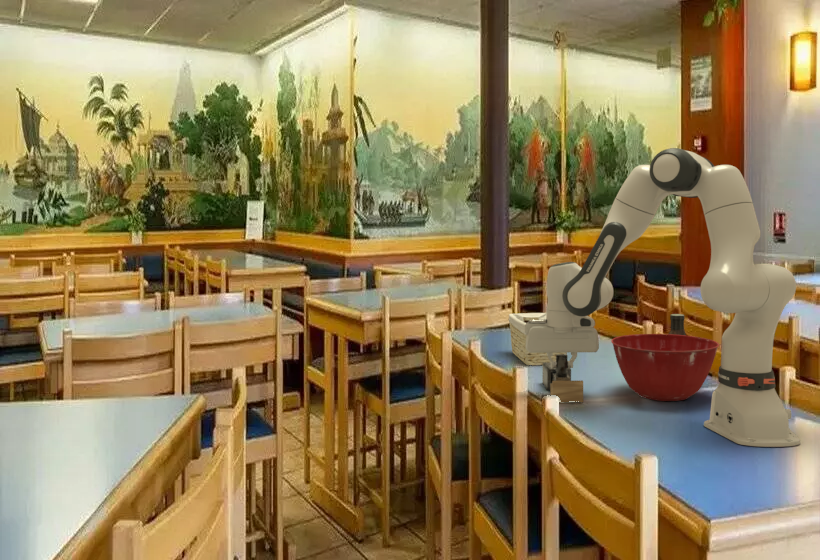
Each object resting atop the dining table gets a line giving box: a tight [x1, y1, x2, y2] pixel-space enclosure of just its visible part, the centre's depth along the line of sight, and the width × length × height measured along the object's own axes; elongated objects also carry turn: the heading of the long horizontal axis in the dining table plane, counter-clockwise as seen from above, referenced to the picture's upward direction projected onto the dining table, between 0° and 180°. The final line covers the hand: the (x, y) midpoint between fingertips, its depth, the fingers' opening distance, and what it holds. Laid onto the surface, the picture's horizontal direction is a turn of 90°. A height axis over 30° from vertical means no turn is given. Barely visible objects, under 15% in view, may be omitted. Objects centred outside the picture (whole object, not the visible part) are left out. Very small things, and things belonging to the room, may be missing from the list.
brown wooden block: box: [550, 380, 584, 403], centre depth 202 cm, size 4×8×6 cm, turn 88°
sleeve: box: [542, 362, 572, 391], centre depth 219 cm, size 9×7×6 cm
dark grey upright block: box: [551, 354, 570, 383], centre depth 214 cm, size 12×4×10 cm, turn 178°
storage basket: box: [508, 312, 568, 366], centre depth 258 cm, size 24×16×15 cm
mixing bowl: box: [610, 333, 720, 402], centre depth 207 cm, size 28×28×16 cm
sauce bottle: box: [667, 313, 687, 336], centre depth 225 cm, size 6×6×20 cm
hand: (561, 367), depth 210 cm, fingers closed on dark grey upright block, 3 cm apart
